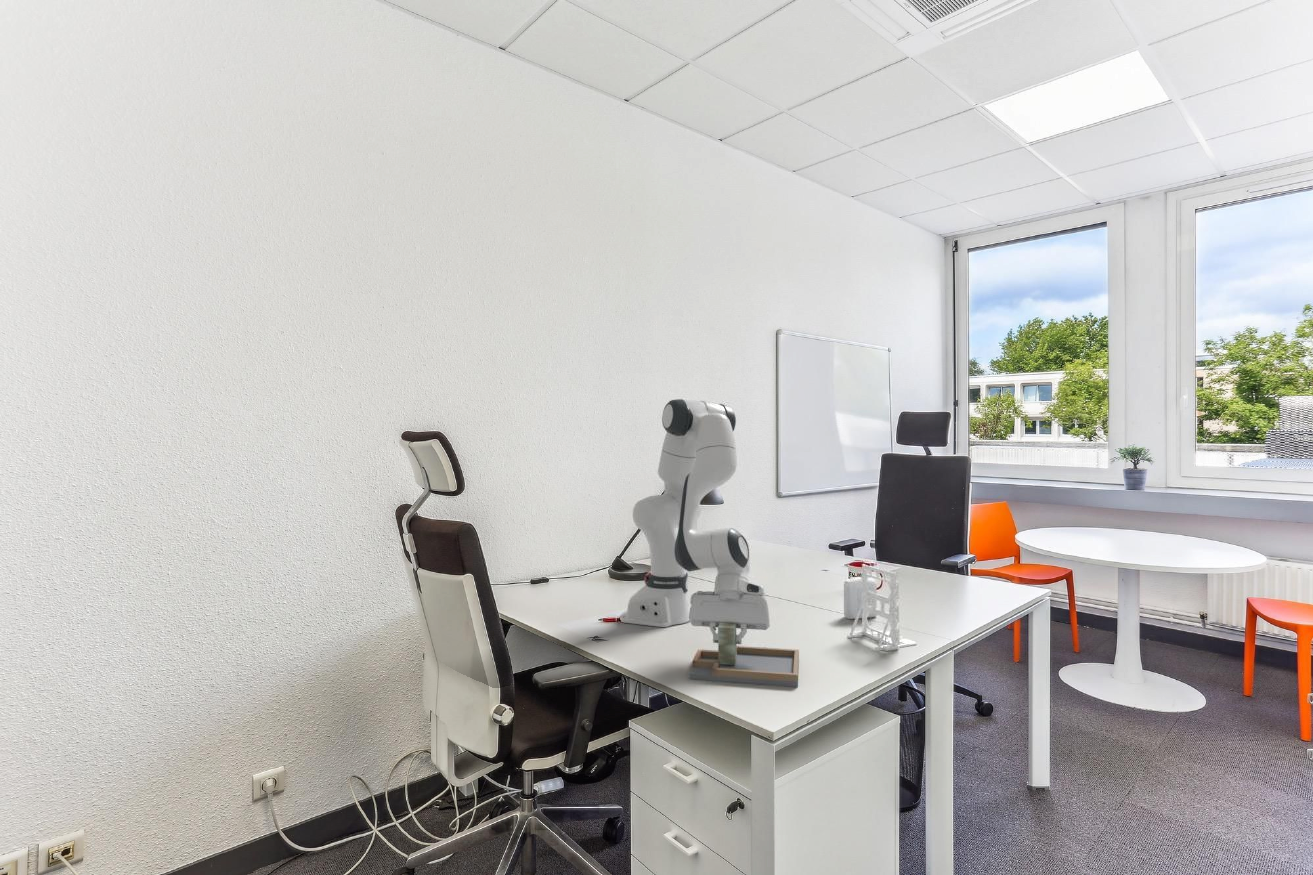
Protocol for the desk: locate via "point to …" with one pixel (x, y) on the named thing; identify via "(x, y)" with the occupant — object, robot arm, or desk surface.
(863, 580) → the white perforated frame
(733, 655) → the green peg
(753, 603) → the robot arm
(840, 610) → the desk surface
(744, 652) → the keyhole dock
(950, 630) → the desk surface
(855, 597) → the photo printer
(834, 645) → the desk surface
